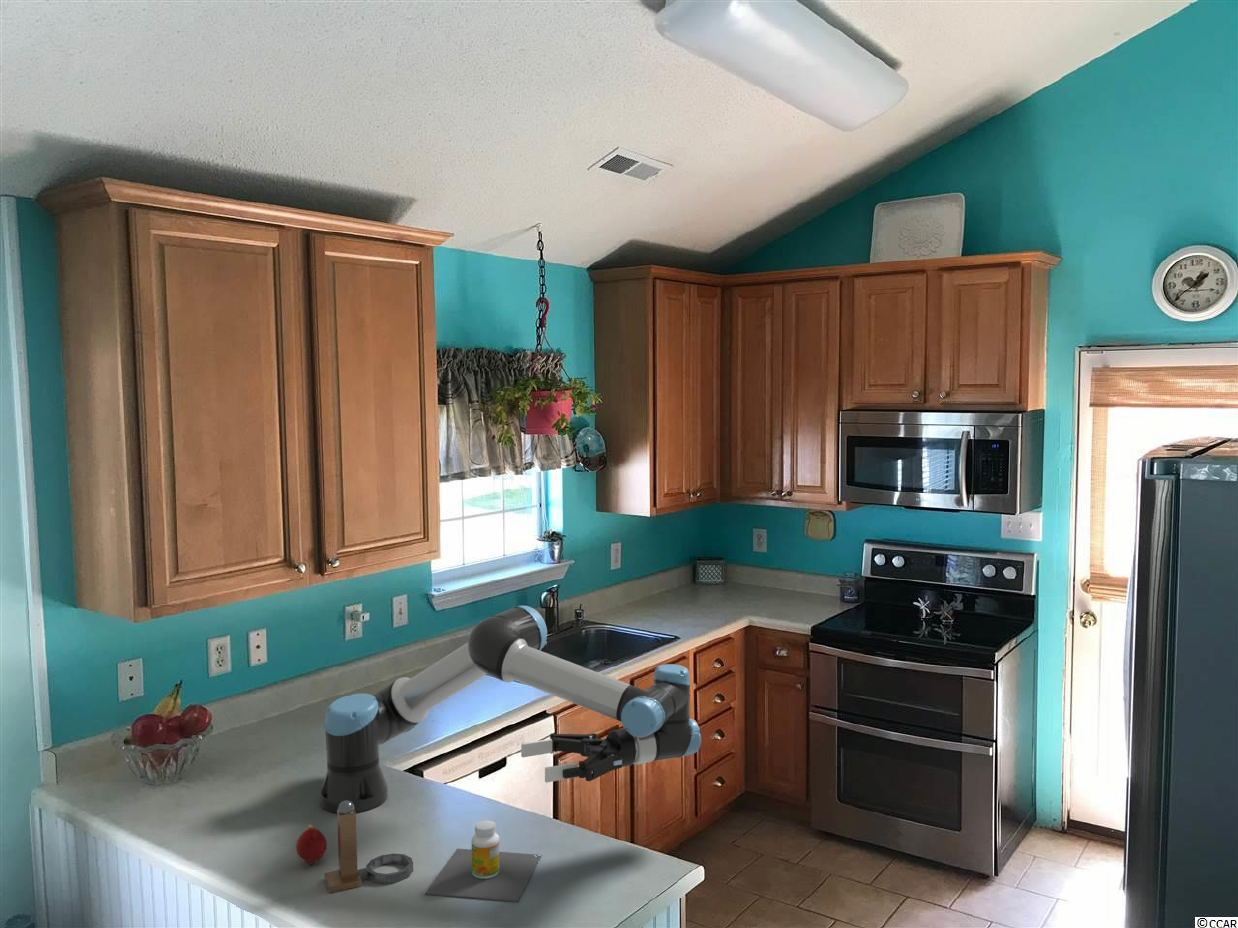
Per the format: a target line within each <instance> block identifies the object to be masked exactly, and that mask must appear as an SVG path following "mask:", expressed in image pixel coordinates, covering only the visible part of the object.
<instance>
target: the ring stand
mask: <svg viewBox="0 0 1238 928" xmlns="http://www.w3.org/2000/svg"><path fill="white" fill-rule="evenodd" d="M356 813H357V812H355V810H354V804H353V803H352V802H351V801H348V800H345V801H343V802H341V803H340V805H339V807H338V809H337V813H336V818H337V819H336V820H337V821H336V822H337V847H338V848H337V849H338V850H337V853H338V869H336V870H332V871H327V872H324V880H325V884H326V886H327V891H328V892H329V894H332V893H336V892H340V891H344V890H350V889H354V888H358V887H362V886H363V882H362V881H363V880H369V881H371V882H372V883H374V884H385V885H387V884H388V885H389V884H393V883H399V882H401V881H403V880H405V879H408V878H409V877H410V876H411V875H412V873H413V872H414V862H413V859H412V857H410V856H409V855H406V854H402V853H389V854H388V853H387V854H381V855H379V856H376V857H375V858H372V859H370V861H369V862H368V863H367V864H366V865H365V867H364V868H360V869H358V850H357V849H358V847H357V844H358V842H357V819H356V817H357V816H356V815H357V814H356ZM398 863H400V864H401V865H403V866H404V868H403V869H401V870H398V871H395V872H388V873H382V872H381V873H380V872H377V871H375V869H376V868H377V869H378V868H380V867H381V866H384V864H385V865H389V864H398ZM400 864H399V865H400Z"/></svg>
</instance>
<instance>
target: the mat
mask: <svg viewBox="0 0 1238 928" xmlns="http://www.w3.org/2000/svg"><path fill="white" fill-rule="evenodd" d="M534 855H536V856H537V857H535V856H534ZM538 855H539V854H537V853H536V854H534V853H521V852H510V851H509V852H507V851H499V866H500V868H499V873H498V874H497V875H496V876H495V877H493V878H489V879H480V878H476V877H474V876H473V874H472V849H468V848H456V850H455V851H454V852H453V853H452V855H451V856H450V858H449V859H448V861H447V862H446V863H445V865H444V866H443V867H442V869H441V870H440V872H439V873H438V875H437V876H436V877H435V879H434V880H433V881H432V883H431V884H430V885H429V887H428V888H427V889H426V891H425V894H424V895H426V896H437V897H439V896H441V897H452V898H461V899H463V898H464V899H473V898H474V900H475V899H476V900H484V901H485V900H486V901H497V902H500V901H501V902H509V903H518V902H519V901H520V898H521V897H522V895H523V893H524V892H525V889H526V887H527V885H528V883H529V881H530V879H531V878H532V876H533V874H534V873H535V870H536V868H537V866H538V865H537V864H539V863H538V861H539V860H540V861H541V859H540V858H542V857H543V855H542V854H540V855H541V856H542V857H541V856H538ZM540 861H539V862H540ZM535 867H536V868H535Z"/></svg>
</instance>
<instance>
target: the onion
mask: <svg viewBox="0 0 1238 928" xmlns="http://www.w3.org/2000/svg"><path fill="white" fill-rule="evenodd" d="M295 845H296V847H295V848H296V853H297V855H298V857H300V859H302V860H303V861H305V862H306V863H307V864H309V865H313V864H314V863H316V862H318V861H319V860H320V859H322V857H323V856H324V855H325V853H326V852H327V847H328V841H327V838H326V836H325V834H323V832H321V830H319V829H317V828H316V827H314V826H313V825H311V824H308V825H307V828H306V829H305V830H304V831H303V832H302V833H301V835H300V836H299V837H298V839H297V841H296V844H295Z"/></svg>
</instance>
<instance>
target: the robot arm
mask: <svg viewBox="0 0 1238 928" xmlns="http://www.w3.org/2000/svg"><path fill="white" fill-rule="evenodd" d="M547 637H548V628H547V625H546V622H545V620H544V618H543V617H542V615H541V614H540V612H539V611H537V610H536V609H535V608H533V607H531V606H529V605H518V606H517V605H516V606H512V607H511V608H509V609H506V610H504V611H502V612H499V613H497V614H495V615H492V616H490V617H487V618H485V619H482V620H481V621H479V622H478V623H477V624H475V626H474V627H473V628H472V630H471V632H470V635H469V637H468V642H466V643H464V644H463V645H461V646H460V647H458V648H456V649H455V650H454V651H452V652H451V653H449V654H447V655H445V656H444V657H443V658H440V659H439V660H438V661H436V662H434V664H432V665H430V666H428V667H427V668H425V669H424V670H422V671H421V672H419V673H417V674H415V675H413V677H411V678H410V677H407V676H404V677H399V678H398V679H396V680H394V681H393V682H391V683H390V684H388V685H387V686H385V687H383V688H382V689H379V690H378V691H376V692H374V693H372V694H370V693H361V692H360V693H353V694H350V695H345V696H342V697H339V698H337V699H336V700H334V701H332V702H331V703H330V704H329V705H328V707H327V708H326V711H325V722H324V729H325V741H326V743H325V744H326V774H325V775H324V776H325V777H324V780H323V782H322V783H323V784H322V787H321V790H320V792H319V793H320V795H319V797H320V800H319V801H320V806H321V808H323V809H324V810H326V811H328V812H331V813H336V814H337V809H338V807H339V805H340V803H341V802H343V801H345V800H348V801H351V802H352V803H353V804H354V810H355V812H356V813H360V812H365V811H368V810H371V809H375V808H377V807H379V806H380V805H382V804H383V803H385V802H386V801H387V800H388V797H389V794H388V793H389V791H388V784H387V782H386V779H385V776H384V774H383V773H384V772H383V771H382V768H381V765H380V749H379V747H380V745H382V744H385V743H386V742H389V741H390V740H392V739H394V738H395V737H397V736H400V735H402V734H403V733H407V732H409V731H411V730H412V729H414V728H415V727H416V726H417V725H419V724H420V723H421V722H423V721H424V720H425V719H426V718H427V716H428V715H429V712H430V710H431V709H432V708H433V707H435V706H437V705H439V704H440V703H442V702H443V701H446V700H447V699H449V698H450V697H451V696H453V695H455V694H457V693H459V692H460V691H462V690H463V689H465V688H466V687H468V686H470V685H471V684H474V682H477V681H478V680H480V679H482V678H483V677H485V676H486V675H488V676H491V677H492V678H495V679H497V680H499V681H502V682H505V683H507V684H508V683H512V682H513V681H515V682H519V683H521V684H524V685H526V686H529V687H531V688H534V689H536V690H539V691H541V692H544V693H547V694H548V695H552V696H554V697H557V698H559V699H562V700H564V701H567V702H569V703H572V704H575V705H577V706H579V707H582V708H585V709H588V710H590V711H593V712H596V713H598V714H600V715H603V716H606V717H609V718H610V719H614V720H616V721H618V722H621V724H622V727H623V728H617V729H613V730H610V731H609V732H608V733H607V736H606V738H603V739H602V738H598V734H597V733H586V734H585V733H584V734H583V733H550V734H549V738H548V739H547V738H546V739H540V740H535V741H528V742H523V743H521V746H520V747H521V748H520V749H521V751H520V756H521V757H522V758H528V757H534V756H535V757H536V756H540V755H546V754H551V755H552V754H553V753H554V752H564V753H571V754H572V753H573V754H579V755H580V756H581V757H587V758H586V759H584V760H578V762H571V763H564V764H559V765H553V766H547V767H544V782H545V783H546V784H547V783H551V782H558V781H562V780H569V779H575V778H579V779H584V778H585V782H591V781H593V780H596V779H598V778H599V777H602V776H603V775H605V774H608V773H610V772H612V771H615V770H619V769H621V768H625V767H629V766H632V765H641V766H644V765H645V763H650V762H651V763H652V762H658V761H662V760H670V759H679V758H682V757H686V756H687V757H688V756H690V755H693V754H696V753H697V752H698V751H699V749H700V747H701V744H702V735H701V733H700V732H701V729H700V726H699V724H698V723H697V721H696V720H695V719H693V718H690V696H691V695H690V693H691V690H690V688H691V681H690V680H691V679H690V671H689V669H688V667H686V666H683V665H681V664H672V663H670V664H669V663H668V664H667V663H666V664H660V665H658V666H657V667H656V668H655V669H654V674H653V678H652V679H653V684H652V685H650V686H649V687H648V688H647V689H643V688H640V687H638V686H635V685H631V684H629V683H627V682H624V681H622V680H619V679H616V678H614V677H611V676H608V675H606V674H604V673H600V672H598V671H595V670H593V669H590V668H588V667H585V666H581V665H580V664H576V663H574V662H571V661H569V660H565V659H563V658H560V657H558V656H556V655H553V654H550V653H548V652H544V651H542V649H543V648H544V647H545V645H546V643H547Z"/></svg>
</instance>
